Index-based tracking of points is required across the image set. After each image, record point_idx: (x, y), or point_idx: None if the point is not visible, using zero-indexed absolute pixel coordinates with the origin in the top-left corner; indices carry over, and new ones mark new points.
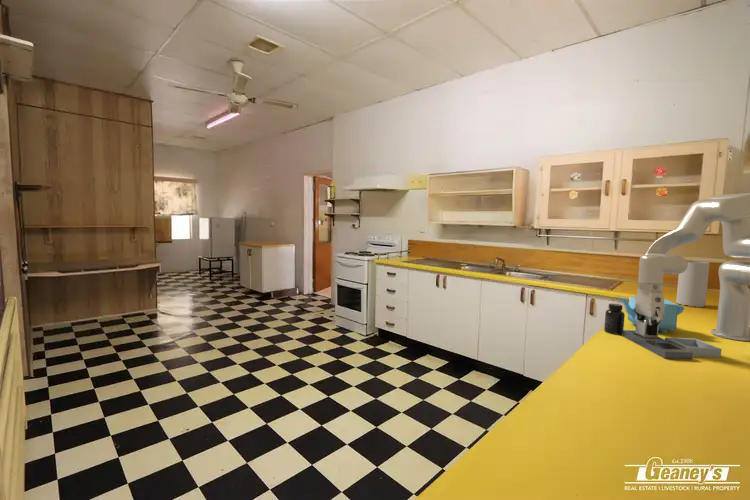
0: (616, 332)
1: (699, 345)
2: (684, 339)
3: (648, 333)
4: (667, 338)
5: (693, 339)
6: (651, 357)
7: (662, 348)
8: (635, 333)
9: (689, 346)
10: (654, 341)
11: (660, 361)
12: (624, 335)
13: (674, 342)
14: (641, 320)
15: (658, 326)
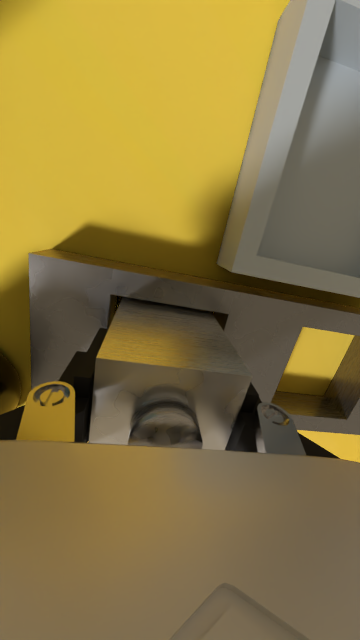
0: (16, 402)
1: (352, 51)
2: (293, 128)
3: None
4: (253, 276)
5: (326, 20)
6: (319, 443)
7: (342, 420)
8: None
9: (301, 133)
10: (257, 381)
11: (354, 441)
12: None
13: (311, 287)
14: (93, 438)
15: (243, 364)
